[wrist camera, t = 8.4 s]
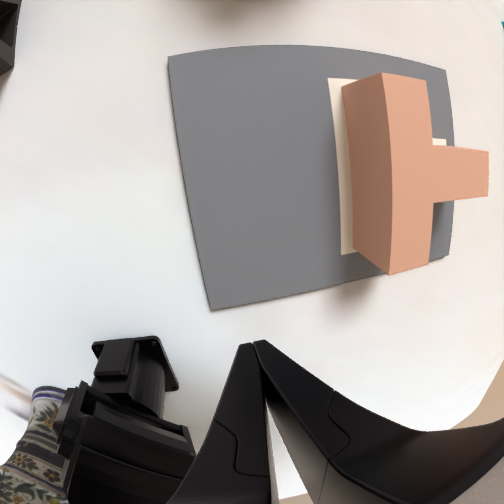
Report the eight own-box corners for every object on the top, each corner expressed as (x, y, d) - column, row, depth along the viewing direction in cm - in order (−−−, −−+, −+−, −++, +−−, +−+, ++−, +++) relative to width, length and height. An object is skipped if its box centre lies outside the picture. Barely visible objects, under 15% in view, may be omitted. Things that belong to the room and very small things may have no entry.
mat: (445, 253, 23) (448, 255, 23) (210, 306, 21) (211, 310, 20) (441, 70, 16) (445, 70, 16) (168, 59, 14) (167, 56, 14)
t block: (444, 228, 21) (482, 247, 17) (352, 247, 20) (388, 275, 16) (442, 99, 17) (483, 97, 12) (341, 86, 16) (381, 72, 11)
